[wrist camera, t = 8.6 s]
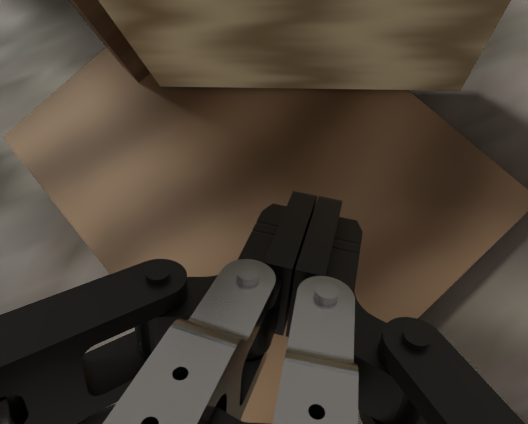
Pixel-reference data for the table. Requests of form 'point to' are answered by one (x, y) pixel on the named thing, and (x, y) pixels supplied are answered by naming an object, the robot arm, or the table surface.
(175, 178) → the gate base
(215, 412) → the robot arm
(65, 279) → the table surface
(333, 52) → the gate leaf
